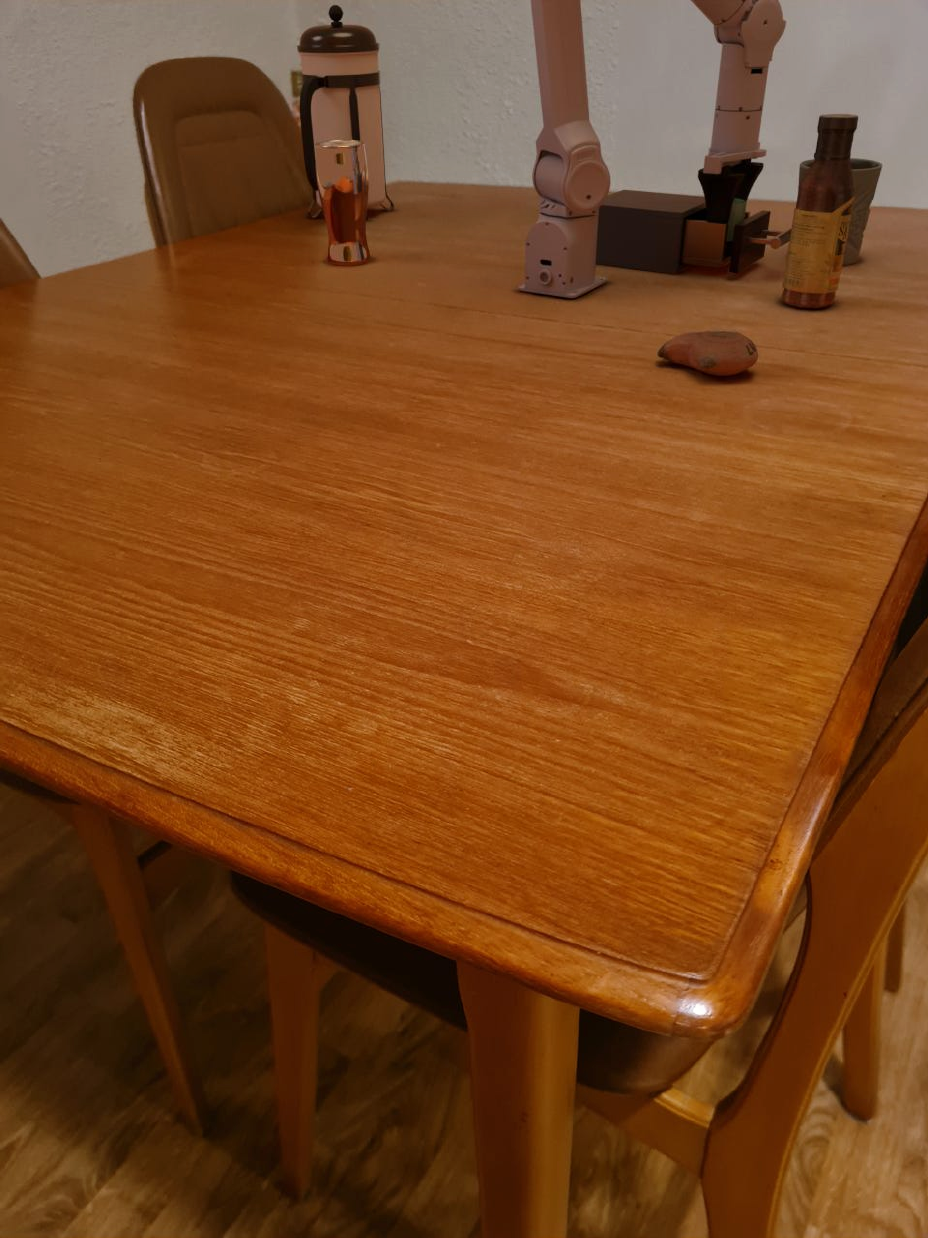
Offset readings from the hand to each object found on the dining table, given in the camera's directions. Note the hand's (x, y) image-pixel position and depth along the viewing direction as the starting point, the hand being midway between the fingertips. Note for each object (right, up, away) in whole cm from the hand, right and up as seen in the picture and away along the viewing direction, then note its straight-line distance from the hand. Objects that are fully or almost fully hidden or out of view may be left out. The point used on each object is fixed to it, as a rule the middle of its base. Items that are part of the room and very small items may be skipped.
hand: (723, 226), depth 125 cm
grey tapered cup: (+15, -2, +7) cm, 17 cm away
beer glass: (-50, -1, +10) cm, 51 cm away
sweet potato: (-10, -27, -30) cm, 42 cm away
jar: (0, -1, +1) cm, 1 cm away
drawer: (0, -4, +2) cm, 4 cm away
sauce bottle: (+7, -14, -11) cm, 19 cm away
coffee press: (-53, +17, +37) cm, 67 cm away
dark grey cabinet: (-9, -1, +8) cm, 12 cm away
